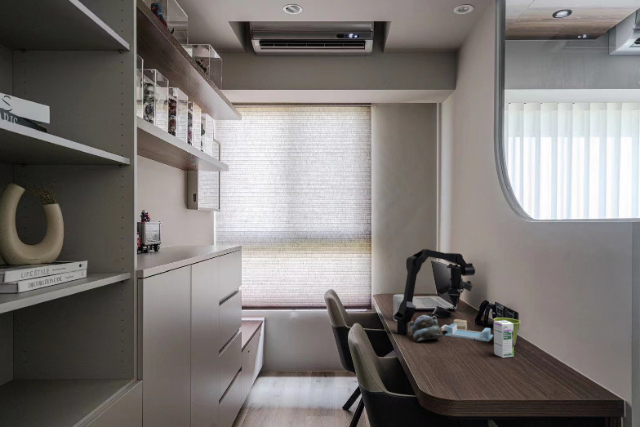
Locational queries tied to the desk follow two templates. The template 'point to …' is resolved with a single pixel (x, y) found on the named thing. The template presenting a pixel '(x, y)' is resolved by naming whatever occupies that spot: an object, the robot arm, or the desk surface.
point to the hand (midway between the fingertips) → (456, 305)
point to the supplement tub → (397, 303)
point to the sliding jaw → (450, 328)
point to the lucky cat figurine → (425, 328)
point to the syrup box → (503, 339)
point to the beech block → (461, 324)
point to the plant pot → (515, 325)
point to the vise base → (472, 334)
